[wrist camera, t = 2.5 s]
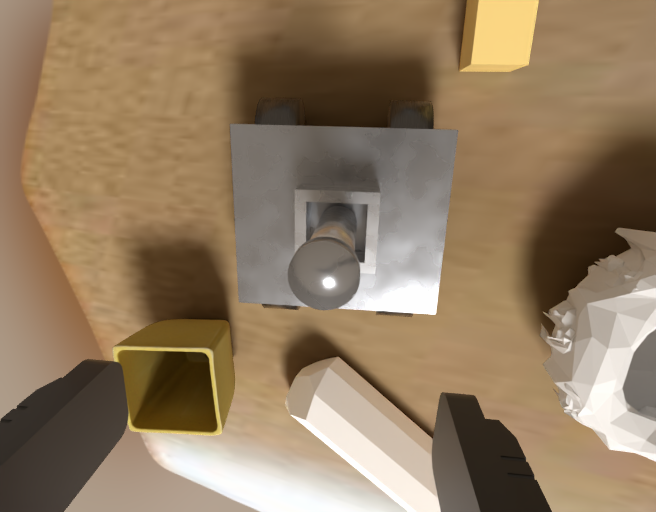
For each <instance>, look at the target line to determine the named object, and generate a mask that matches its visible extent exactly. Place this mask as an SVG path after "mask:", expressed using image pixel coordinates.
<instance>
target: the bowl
mask: <svg viewBox="0 0 656 512" xmlns="http://www.w3.org/2000/svg"><path fill="white" fill-rule="evenodd" d="M615 233H617V234H618V235H620V236H622V237H623V238H625V239H626V241H627V242H628V244H629V245H630V247H631V249H629V250H627V251H625V252H623V253H621V254H619V255H617V256H614V255H609V256H608V257H607V258H605V259H599V260H600V261H601V262H595V263H596V264H597V265H599V266H597V265H592V266H589V267H588V276H587V277H586V278H584V279H583V280H582V281H581V282H580V283H579V284H578V285H577V286H576V287H575V288H574V289H571V290H569V291H568V292H569V295H568V298H567V300H566V301H563V302H561V303H560V304H558V305H556V306H555V307H553V308H552V309H549V310H550V312H551V313H550V312H549V311H548V312H549V314H547V313H545V312H543V313H544V314H545V315H546V316H547V317H549V318H550V319H551V320H552V321H553V322H554V323H555V328H554V330H553V332H552V336H549V333H548V331H547V330H546V329H545V328H544V326H543V325H542V324H541V325H542V328H541V333H540V337H542V338H543V339H544V340H545V341H546V342H547V343H548V344H549V345H550V347H551V353H552V355H551V357H550V358H549V359H548V360H546V361H545V362H544V363H543V366H544V367H545V369H546V371H547V372H548V374H549V375H550V377H551V379H552V380H553V382H554V383H555V384H556V385H557V387H558V389H559V394H558V393H557V392H556V391H555V390H554V391H555V392H556V394H557V395H558V397H559V401H560V404H561V406H562V408H563V409H564V413H566V414H568V415H569V416H571V417H572V418H574V419H575V420H576V421H578V422H580V423H581V424H583V425H585V426H587V427H590V428H592V429H593V430H594V431H595V433H596V434H597V435H598V436H599V437H600V439H601V440H602V441H603V442H604V443H605V444H606V446H607V447H608V448H609V449H610V450H617V451H624V452H632V453H637V454H640V455H642V456H644V457H647V458H649V459H651V460H654V461H656V232H649V231H641V230H633V229H626V228H617V230H616V231H615ZM540 323H541V322H540ZM552 388H553V387H552Z"/></svg>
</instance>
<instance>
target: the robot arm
mask: <svg viewBox="0 0 656 512" xmlns="http://www.w3.org/2000/svg"><path fill="white" fill-rule="evenodd" d="M128 416H129V412H128V404H127V397H126V389H125V382H124V375H123V369H122V366H121V364H120V363H119V362H114V361H103V360H92V359H87V360H84V361H82V362H81V363H80V364H79V365H77V366H76V367H75V368H74V369H73V370H72V371H70V372H69V373H68V374H67V375H66V376H64V377H63V378H59V379H57V380H55V381H53V382H51V383H49V384H47V385H45V386H43V387H41V388H39V389H38V390H36V391H35V392H34V393H32V394H31V395H30V396H29V397H27V398H26V399H25V400H24V401H22V402H21V403H20V404H19V405H17V408H16V409H12V410H11V411H10V412H9V413H7V414H6V415H5V416H4V417H3V418H2V419H1V421H0V512H64V511H65V509H66V508H67V507H68V506H69V504H70V503H71V502H72V500H73V499H74V498H75V497H76V495H77V494H78V493H79V491H80V490H81V489H82V488H83V486H84V485H85V484H86V482H87V481H88V480H89V479H90V477H91V476H92V475H93V473H94V472H95V471H96V470H97V468H98V467H99V466H100V464H101V463H102V462H103V461H104V459H105V458H106V457H107V455H108V454H109V453H110V452H111V450H112V449H113V448H114V446H115V445H116V444H117V442H118V441H119V440H120V438H121V437H122V435H123V434H124V431H125V429H126V426H127V422H128ZM432 469H433V475H434V480H435V485H436V490H437V495H438V500H439V505H440V510H441V512H552V511H551V509H550V507H549V505H548V503H547V501H546V498H545V496H544V494H543V492H542V490H541V488H540V486H539V484H538V482H537V480H535V479H534V474H533V472H532V470H531V468H530V465H529V463H528V462H526V457H525V455H524V453H523V451H522V449H521V447H520V445H519V443H518V441H517V439H516V437H515V436H514V435H513V434H512V433H511V432H510V431H509V430H508V429H507V428H506V427H505V426H504V425H503V424H502V423H501V422H500V421H499V420H491V419H485V418H484V415H483V413H482V410H481V408H480V405H479V403H478V401H477V398H476V397H475V396H474V395H466V394H455V393H444V392H442V393H441V395H440V399H439V404H438V411H437V417H436V423H435V429H434V436H433V442H432Z"/></svg>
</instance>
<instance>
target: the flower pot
mask: <svg viewBox="0 0 656 512" xmlns="http://www.w3.org/2000/svg"><path fill="white" fill-rule="evenodd" d="M206 355H207V356H206ZM113 357H114V362H119V363H120V364H121V366H122V369H123V375H124V382H125V389H126V397H127V404H128V412H129V416H128V422H127V423H128V425H129V428H130V430H131V431H135V432H147V433H176V434H192V435H220V434H222V431H223V428H224V425H225V422H226V418H227V415H228V412H229V409H230V406H231V402H232V399H233V395H234V389H235V372H234V363H233V354H232V345H231V335H230V325H229V323H228V321H226V320H206V319H171V320H164V321H160V322H156V323H153V324H151V325H149V326H147V327H145V328H143V329H141V330H140V331H138V332H136V333H135V334H133V335H132V336H130V337H128V338H127V339H125V340H123V341H122V342H120V343H119V344H117V345H115V346H114V347H113Z"/></svg>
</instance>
